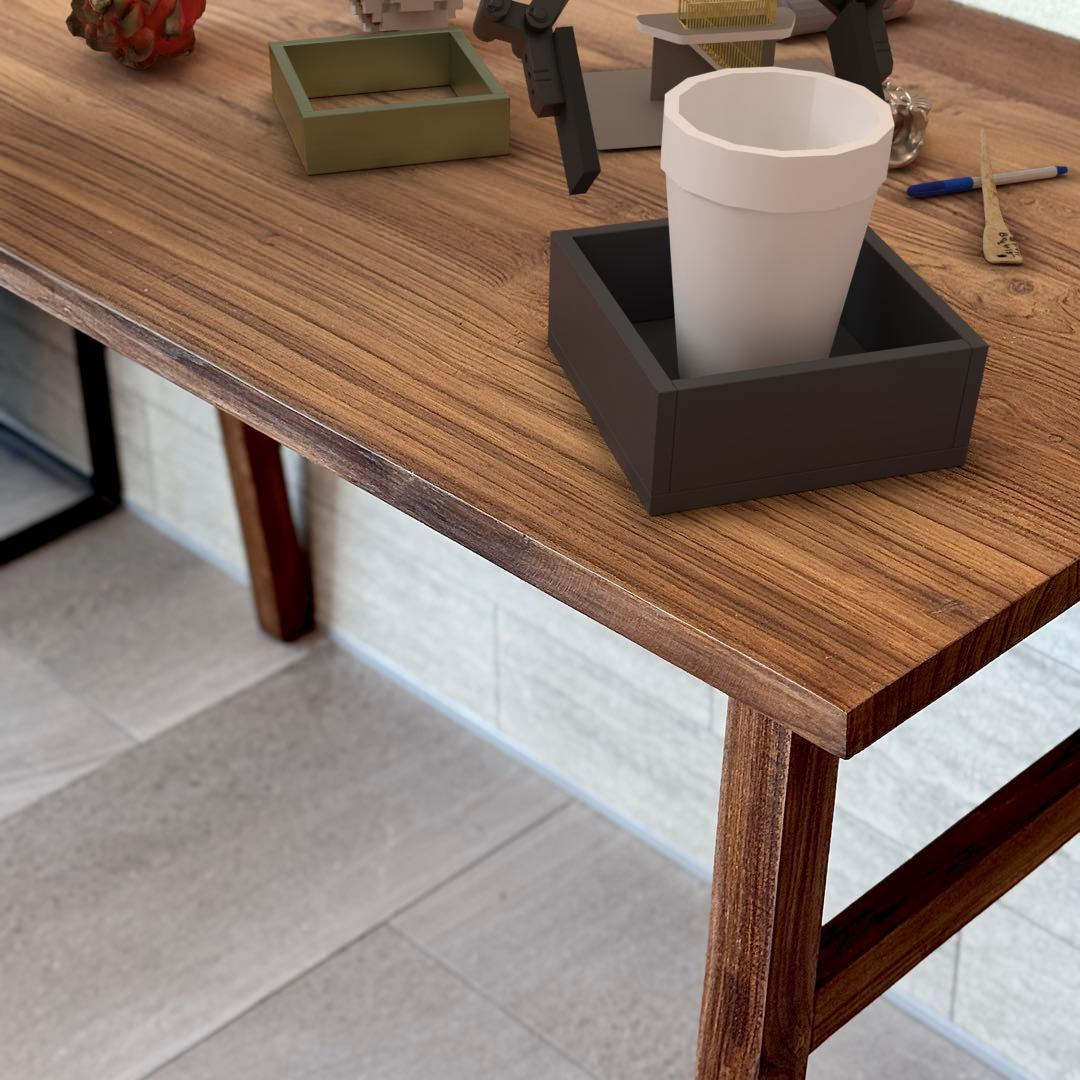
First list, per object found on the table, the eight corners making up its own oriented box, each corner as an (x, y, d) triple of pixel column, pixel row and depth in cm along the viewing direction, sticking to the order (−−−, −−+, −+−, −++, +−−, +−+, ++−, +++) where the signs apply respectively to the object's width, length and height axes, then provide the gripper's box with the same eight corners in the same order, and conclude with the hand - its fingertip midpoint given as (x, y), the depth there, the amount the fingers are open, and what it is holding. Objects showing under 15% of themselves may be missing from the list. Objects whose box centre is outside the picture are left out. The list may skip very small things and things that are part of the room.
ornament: (950, 173, 99) (977, 120, 97) (857, 174, 96) (882, 118, 94) (882, 100, 104) (905, 47, 102) (791, 98, 101) (813, 44, 98)
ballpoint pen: (903, 198, 95) (912, 205, 94) (905, 183, 94) (914, 190, 93) (1061, 171, 98) (1071, 178, 97) (1064, 157, 97) (1074, 164, 96)
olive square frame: (307, 175, 95) (303, 117, 93) (272, 96, 104) (268, 41, 102) (509, 154, 98) (510, 97, 96) (458, 79, 107) (458, 25, 105)
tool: (1000, 133, 98) (965, 132, 98) (1002, 122, 97) (967, 120, 97) (1022, 273, 88) (983, 271, 88) (1024, 262, 88) (985, 260, 88)
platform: (885, 129, 102) (901, 22, 98) (597, 149, 98) (602, 40, 94) (817, 58, 111) (830, -42, 107) (553, 74, 108) (556, -28, 104)
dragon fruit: (119, 119, 105) (150, 75, 115) (223, 37, 103) (245, 0, 113) (23, 5, 101) (64, -29, 112) (129, -81, 99) (161, -108, 110)
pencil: (781, 49, 113) (791, 8, 111) (758, 27, 115) (767, -13, 113) (913, 28, 118) (925, -12, 116) (888, 8, 120) (900, -32, 118)
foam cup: (620, 415, 74) (637, 136, 66) (670, 318, 81) (690, 55, 73) (835, 454, 71) (878, 171, 64) (866, 351, 79) (908, 84, 71)
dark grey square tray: (649, 516, 69) (658, 392, 66) (547, 344, 80) (550, 230, 77) (965, 465, 73) (990, 345, 69) (825, 307, 84) (840, 196, 80)
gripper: (859, -238, 82) (950, 171, 80) (360, -216, 76) (442, 226, 74) (925, -339, 75) (1028, 107, 73) (381, -323, 69) (472, 163, 67)
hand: (732, 169), depth 73 cm, fingers open, 13 cm apart
